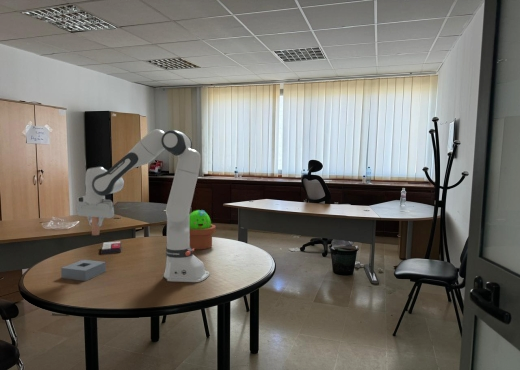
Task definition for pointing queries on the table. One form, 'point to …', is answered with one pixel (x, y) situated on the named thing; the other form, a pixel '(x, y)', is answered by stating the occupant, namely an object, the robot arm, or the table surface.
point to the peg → (95, 226)
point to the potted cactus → (200, 230)
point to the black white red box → (111, 247)
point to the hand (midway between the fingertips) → (95, 225)
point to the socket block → (83, 270)
